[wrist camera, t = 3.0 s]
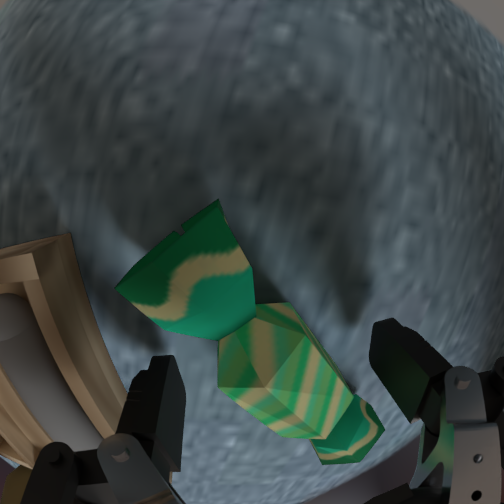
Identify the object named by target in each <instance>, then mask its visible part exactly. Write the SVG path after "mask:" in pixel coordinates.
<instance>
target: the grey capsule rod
mask: <svg viewBox="0 0 504 504" xmlns="http://www.w3.org/2000/svg"><path fill="white" fill-rule="evenodd" d="M0 363H1V365H2V367H3V369H4V371H5V372H6V374H7V376H8V377H9V379H10V381H11V382H12V384H13V386H14V387H15V389H16V390H17V392H18V394H19V395H20V397H21V398H22V400H23V401H24V403H25V404H26V405H27V407H28V408H29V410H30V411H31V412H32V414H33V415H34V417H35V418H36V419H37V421H38V422H39V423H40V424H41V426H42V427H43V428H44V430H45V431H46V432H47V433H48V435H49V436H50V437H51V438H52V439H53V441H54V442H63V443H65V444H67V445H68V446H70V448H71V449H72V450H73V451H74V452H76V451H84V450H92V449H97V448H98V446H99V445H100V443H101V442H102V441H103V440H104V438H103V437H102V435H101V434H100V433H99V431H98V430H97V429H96V427H95V426H94V424H93V423H92V421H91V420H90V419H89V417H88V416H87V414H86V413H85V411H84V410H83V408H82V406H81V405H80V403H79V402H78V400H77V398H76V397H75V395H74V394H73V392H72V390H71V389H70V387H69V385H68V383H67V382H66V380H65V378H64V376H63V374H62V373H61V371H60V369H59V367H58V365H57V363H56V361H55V359H54V357H53V355H52V353H51V351H50V349H49V347H48V345H47V343H46V340H45V338H44V336H43V334H42V331H41V329H40V327H39V324H38V322H37V319H36V317H35V314H34V312H33V309H32V308H31V306H30V305H29V303H28V302H27V301H26V300H25V299H23V298H22V297H20V296H19V295H16V294H14V293H2V294H0Z"/></svg>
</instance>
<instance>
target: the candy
mask: <svg viewBox="0 0 504 504" xmlns="http://www.w3.org/2000/svg"><path fill="white" fill-rule="evenodd" d="M181 226H182V228H183V230H184V231H185V233H184V234H183V235H182V236H180V235H179V234H178V233H177V232H175V231H173V232H172V233H171V234H169V235H168V236H167V237H166V238H165V239H163V240H162V241H161V242H160V243H159V244H158V245H156V246H155V247H154V248H153V249H152V250H151V251H150V252H148V253H147V254H146V255H145V256H144V257H143V258H142V259H140V260H139V261H138V262H137V263H136V264H135V265H134V266H133V267H132V268H131V269H130V270H129V271H128V273H127V274H126V275H125V276H124V277H123V278H122V280H121V281H120V282H119V283H118V284H117V286H116V287H115V288H114V289H116V290H117V291H118V292H119V293H120V294H121V295H122V296H124V297H125V298H126V299H127V300H128V301H129V302H130V303H132V304H133V305H134V306H135V307H136V308H138V309H139V310H140V311H141V312H142V313H144V314H145V315H146V316H147V317H148V318H150V319H151V320H152V321H153V322H155V323H156V324H157V325H158V326H160V327H161V328H162V329H164V330H167V331H171V332H176V333H180V334H185V335H190V336H195V337H200V338H205V339H211V340H216V341H218V388H219V389H220V390H221V391H223V392H224V393H225V394H226V395H227V396H229V397H230V398H231V399H232V400H234V401H235V402H236V403H237V404H239V405H240V406H241V407H242V408H244V409H245V410H246V411H247V412H249V413H250V414H251V415H253V416H254V417H255V418H257V419H258V420H259V421H261V422H262V423H263V424H265V425H266V426H267V427H269V428H270V429H272V430H273V431H274V432H276V433H277V434H279V435H280V436H282V437H289V438H305V439H309V440H310V442H311V444H312V446H313V448H314V450H315V452H316V454H317V455H318V457H319V459H320V461H321V463H322V465H330V464H346V463H357V462H361V460H362V459H363V458H364V457H365V455H366V454H367V453H368V452H369V451H370V449H371V448H372V447H373V445H374V444H375V443H376V442H377V440H378V439H379V438H380V436H381V435H382V433H383V432H384V431H385V428H384V427H383V425H382V423H381V421H380V420H379V418H378V416H377V415H376V413H375V411H374V410H373V408H372V406H371V405H370V404H368V403H367V402H366V401H364V400H363V399H362V398H361V397H359V396H358V395H357V394H355V395H353V394H352V392H351V391H350V389H349V387H348V385H347V383H346V382H345V380H344V378H343V376H342V374H341V373H340V371H339V369H338V367H337V365H336V364H335V362H334V361H333V360H332V358H331V357H330V356H329V354H328V353H327V352H326V350H325V349H324V348H323V346H322V345H321V344H320V342H319V341H318V340H317V339H316V337H315V336H314V335H313V333H312V332H311V331H310V329H309V328H308V327H307V325H306V324H305V323H304V321H303V320H302V319H301V317H300V316H299V315H298V313H297V312H296V311H295V309H294V308H293V307H292V305H291V304H290V303H289V302H287V303H270V304H255V294H254V282H253V271H252V267H251V266H250V264H249V262H248V260H247V258H246V257H245V255H244V253H243V251H242V250H241V248H240V246H239V244H238V242H237V241H236V239H235V237H234V235H233V234H232V232H231V230H230V228H229V226H228V224H227V221H226V218H225V215H224V213H223V210H222V207H221V204H220V201H219V199H217V200H216V201H214V202H213V203H211V204H210V205H209V206H207V207H206V208H204V209H203V210H201V211H200V212H199V213H197V214H196V215H194V216H193V217H192V218H190V219H189V220H187V221H186V222H185V223H183V224H182V225H181Z"/></svg>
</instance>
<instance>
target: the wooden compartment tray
mask: <svg viewBox="0 0 504 504" xmlns="http://www.w3.org/2000/svg"><path fill="white" fill-rule="evenodd" d="M2 293H14V294H16V295H19V296H20V297H22V298H23V299H25V300H26V301H27V302H28V303H29V305H30V306H31V308H32V309H33V312H34V314H35V317H36V319H37V322H38V324H39V327H40V329H41V331H42V334H43V336H44V338H45V340H46V343H47V345H48V347H49V349H50V351H51V353H52V355H53V357H54V359H55V361H56V363H57V365H58V367H59V369H60V371H61V373H62V374H63V376H64V378H65V380H66V382H67V383H68V385H69V387H70V389H71V390H72V392H73V394H74V395H75V397H76V398H77V400H78V402H79V403H80V405H81V406H82V408H83V410H84V411H85V413H86V414H87V416H88V417H89V419H90V420H91V421H92V423H93V424H94V426H95V427H96V429H97V430H98V431H99V433H100V434H101V435H102V437H103V438H104V439H105V438H107V437H108V436H110V435H113V434H115V433H116V430H117V426H118V423H119V420H120V416H121V413H122V410H123V407H124V404H125V401H126V397H127V392H126V390H125V388H124V386H123V384H122V382H121V380H120V378H119V376H118V373H117V371H116V369H115V367H114V365H113V362H112V360H111V358H110V356H109V353H108V351H107V349H106V346H105V344H104V341H103V339H102V336H101V334H100V331H99V328H98V326H97V323H96V320H95V318H94V315H93V312H92V309H91V306H90V303H89V300H88V297H87V294H86V291H85V287H84V284H83V281H82V277H81V274H80V270H79V266H78V263H77V259H76V255H75V251H74V247H73V242H72V238H71V233H67V234H62V235H58V236H53V237H48V238H44V239H40V240H35V241H31V242H27V243H22V244H18V245H14V246H10V247H6V248H2V249H0V294H2ZM52 442H54V441H53V439H52V438H51V437H50V436H49V435H48V433H47V432H46V431H45V430H44V428H43V427H42V426H41V424H40V423H39V422H38V421H37V419H36V418H35V417H34V415H33V414H32V412H31V411H30V410H29V408H28V407H27V405H26V404H25V403H24V401H23V400H22V398H21V397H20V395H19V394H18V392H17V390H16V389H15V387H14V386H13V384H12V382H11V381H10V379H9V377H8V376H7V374H6V372H5V371H4V369H3V367H2V365H1V363H0V455H2V456H4V457H6V458H8V459H10V460H12V461H14V462H16V463H19V464H21V465H23V466H26V467H28V468H30V469H33V467H34V465H35V462H36V460H37V457H38V455H39V453H40V451H41V450H42V448H43V447H44V446H46V445H47V444H49V443H52ZM169 482H170V483H172V472H170V479H169Z"/></svg>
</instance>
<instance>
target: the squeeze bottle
mask: <svg viewBox="0 0 504 504" xmlns="http://www.w3.org/2000/svg"><path fill="white" fill-rule="evenodd" d="M32 470H33V469H30V468H28V467H26V466H23V465H20V466H18V467H17V468H16V469H15V470H14V471H13V472H11V473H10V474H9V475H8V476H7V478H6V481H5V486H4V489H3V493H2V498H1V503H0V504H20V502H21V499H22V496H23V493H24V491H25V488H26V485H27V482H28V480H29V477H30V475H31V472H32Z"/></svg>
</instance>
